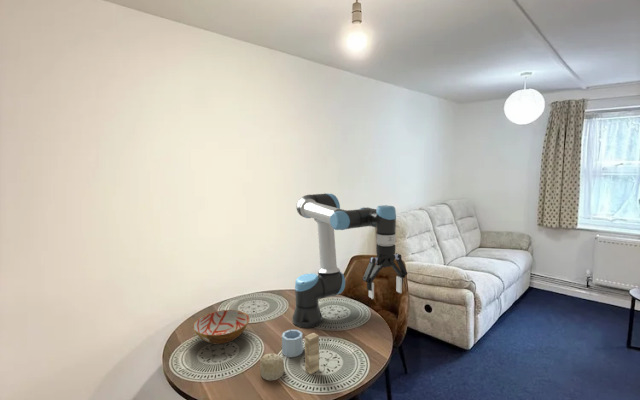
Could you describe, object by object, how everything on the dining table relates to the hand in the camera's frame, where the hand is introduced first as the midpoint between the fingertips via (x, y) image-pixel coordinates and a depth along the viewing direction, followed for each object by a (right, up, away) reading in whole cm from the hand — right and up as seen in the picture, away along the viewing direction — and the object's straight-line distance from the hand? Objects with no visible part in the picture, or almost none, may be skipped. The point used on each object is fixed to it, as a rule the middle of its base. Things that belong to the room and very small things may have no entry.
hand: (385, 294), depth 134 cm
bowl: (-72, -26, +18) cm, 79 cm away
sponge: (-45, -28, -8) cm, 54 cm away
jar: (-39, -26, +6) cm, 47 cm away
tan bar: (-30, -27, -7) cm, 41 cm away
